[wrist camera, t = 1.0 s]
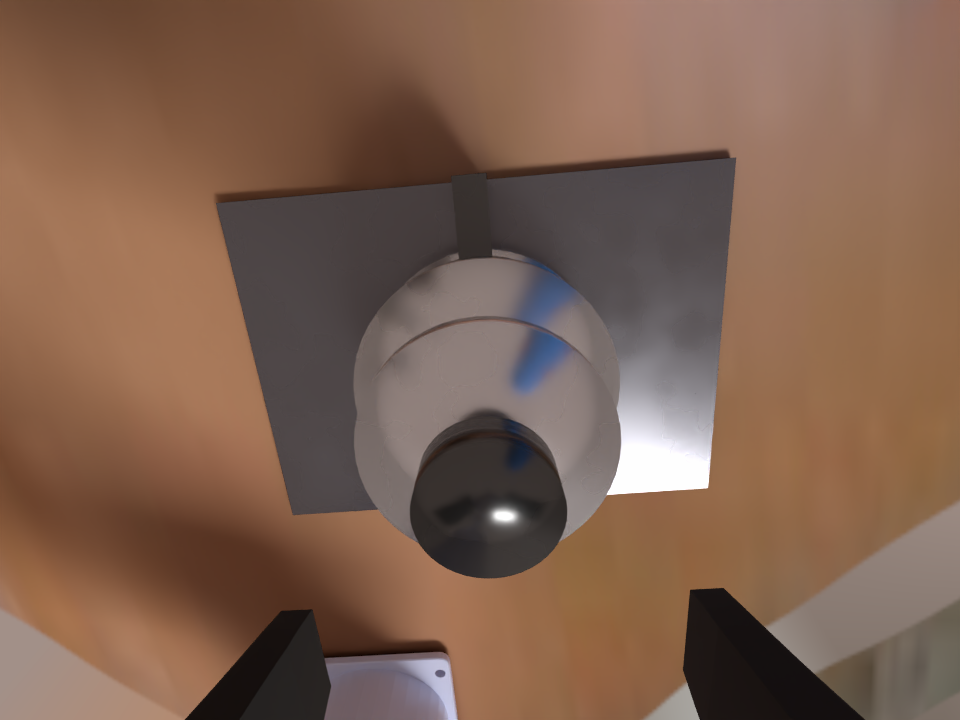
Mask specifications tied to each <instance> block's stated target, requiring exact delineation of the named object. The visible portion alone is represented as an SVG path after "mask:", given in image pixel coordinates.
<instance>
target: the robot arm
mask: <svg viewBox="0 0 960 720" xmlns="http://www.w3.org/2000/svg"><path fill="white" fill-rule="evenodd" d="M683 671H684V674H685V677H686V680H687V683H688V686H689V689H690V692H691V695H692V698H693V701H694V704H695V707H696V710H697V713H698V716H699V719H700V720H865V719H864V718H863V717H861V716H860V715H859V714H858V713H857V712H856V711H855V710H854V709H853V708H851V707H850V706H849V705H848V704H847V703H846V702H845V701H844V700H843V699H841V698H840V697H839V696H838V695H837V694H836V693H835V692H834V691H833V690H831V689H830V688H829V687H828V686H827V685H826V684H825V683H824V682H823V681H821V680H820V679H819V678H818V677H817V676H816V675H815V674H814V673H813V672H812V671H811V670H809V669H808V668H807V667H806V666H805V665H804V664H803V663H802V662H801V661H800V660H799V659H798V658H797V657H795V656H794V655H793V654H792V653H791V652H790V651H789V650H788V649H787V648H786V647H785V646H784V645H783V644H782V643H781V642H780V641H779V640H777V639H776V638H775V637H774V636H773V635H772V634H771V633H770V632H769V631H768V630H767V629H766V628H765V627H764V626H763V625H762V624H761V623H760V622H759V621H758V620H756V619H755V618H754V617H753V616H752V615H751V614H750V613H749V612H748V611H747V610H746V609H745V608H744V607H743V606H742V605H741V604H740V603H739V602H738V601H737V600H736V599H734V598H733V597H732V596H731V595H730V594H729V593H728V592H727V591H726V590H725V589H724V588H716V589H696V590H690V598H689V609H688V620H687V632H686V643H685V654H684V666H683ZM185 720H458V716H457V708H456V701H455V694H454V686H453V679H452V672H451V664H450V658H449V656H448V655H447V654H446V653H443V652H426V653H408V654H390V655H372V656H353V657H335V658H324V655H323V651H322V647H321V643H320V639H319V635H318V631H317V627H316V623H315V619H314V615H313V610H312V609H311V610H292V611H281V612H280V613H279V614H278V615H277V616H276V617H275V619H274V620H273V621H272V622H271V623H270V624H269V625H268V626H267V627H266V629H265V630H264V631H263V632H262V633H261V634H260V635H259V637H258V638H257V639H256V640H255V641H254V642H253V643H252V645H251V646H250V647H249V648H248V649H247V650H246V651H245V653H244V654H243V655H242V656H241V657H240V658H239V659H238V661H237V662H236V663H235V664H234V665H233V666H232V667H231V669H230V670H229V671H228V672H227V673H226V674H225V675H224V677H223V678H222V679H221V680H220V681H219V682H218V683H217V685H216V686H215V687H214V688H213V689H212V690H211V691H210V692H209V693H208V695H207V696H206V697H205V698H204V699H203V700H202V701H201V702H200V703H199V705H198V706H197V707H196V708H195V709H194V710H193V711H192V712H191V713H190V714H189V716H188V717H187V718H186V719H185Z"/></svg>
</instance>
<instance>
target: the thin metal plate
mask: <svg viewBox="0 0 960 720" xmlns="http://www.w3.org/2000/svg"><path fill="white" fill-rule="evenodd" d="M735 164H736V158H726V159H715V160H703V161H692V162H680V163H669V164H658V165H646V166H635V167H623V168H612V169H601V170H589V171H578V172H566V173H555V174H544V175H532V176H521V177H510V178H498V179H487V176H486V173H478V174H467V175H456V176H451V181H452V183H441V184H430V185H418V186H407V187H396V188H384V189H373V190H361V191H350V192H339V193H327V194H316V195H305V196H293V197H282V198H270V199H259V200H248V201H236V202H225V203H216V205H217V209H218V213H219V217H220V221H221V225H222V229H223V233H224V237H225V242H226V246H227V250H228V254H229V258H230V262H231V266H232V270H233V274H234V278H235V282H236V286H237V290H238V294H239V298H240V302H241V306H242V310H243V314H244V318H245V322H246V327H247V331H248V335H249V339H250V343H251V347H252V351H253V355H254V359H255V363H256V367H257V371H258V375H259V379H260V383H261V387H262V391H263V395H264V399H265V403H266V407H267V411H268V416H269V420H270V424H271V428H272V432H273V436H274V440H275V444H276V448H277V452H278V456H279V460H280V464H281V468H282V472H283V476H284V480H285V484H286V488H287V492H288V496H289V501H290V505H291V509H292V513H293V515H300V514H316V513H331V512H346V511H362V510H377V509H378V508H377V507H376V506H375V504H374V503H373V502H372V500H371V498H370V496H369V495H368V493H367V491H366V490H365V487H364V485H363V482H362V480H361V478H360V475H359V471H358V467H357V464H356V459H355V450H354V431H355V425H356V419H357V414H358V411H359V408H360V405H361V402H362V399H363V397H364V395H365V393H366V391H367V389H368V387H369V386H370V384H371V382H372V381H373V379H374V378H375V376H376V375H377V373H378V372H379V370H380V369H381V368H382V366H383V365H384V363H385V362H386V361H387V360H388V359H389V358H390V357H391V356H392V355H393V354H394V352H395V351H396V350H397V349H399V348H400V347H401V346H403V345H404V344H405V343H406V342H408V341H409V340H410V339H412V338H413V337H415V336H417V335H418V334H420V333H422V332H424V331H425V330H428V329H430V328H432V327H435V326H437V325H439V324H442V323H445V322H449V321H452V320H456V319H461V318H468V317H475V316H500V317H508V318H515V319H519V320H523V321H527V322H531V323H533V324H536V325H538V326H541V327H543V328H546V329H548V330H550V331H551V332H553V333H555V334H557V335H559V336H560V337H562V338H563V339H565V340H566V341H567V342H569V343H570V344H571V345H573V346H574V347H575V348H577V349H578V350H579V351H580V352H581V353H582V354H583V355H584V356H585V357H586V358H587V359H588V361H589V362H590V363H591V365H592V366H593V367H594V369H595V370H596V371H597V373H598V374H599V376H600V377H601V378H602V380H603V381H604V383H605V385H606V387H607V388H608V390H609V392H610V394H611V396H612V398H613V401H614V404H615V406H616V409H617V412H618V417H619V422H620V427H621V453H620V460H619V465H618V469H617V473H616V476H615V478H614V481H613V483H612V486H611V488H610V490H609V492H608V493H607V494H623V493H638V492H653V491H669V490H684V489H699V488H708V480H709V469H710V457H711V445H712V433H713V422H714V410H715V398H716V387H717V375H718V363H719V352H720V340H721V328H722V316H723V305H724V293H725V281H726V270H727V258H728V246H729V235H730V223H731V211H732V199H733V188H734V176H735Z"/></svg>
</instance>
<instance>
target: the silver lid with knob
mask: <svg viewBox="0 0 960 720" xmlns="http://www.w3.org/2000/svg"><path fill="white" fill-rule="evenodd" d="M354 450H355V459H356V464H357V467H358V471H359V475H360V478H361V480H362V482H363V485H364V487H365V490H366V491H367V493H368V495H369V496H370V498H371V500H372V502H373V503H374V504H375V506H376V507H377V508H378V510H379V511H380V512H381V513H382V515H383V516H384V517H385V518H386V519H387V520H388V521H389V522H390V523H391V524H392V525H393V526H394V527H396V528H397V529H398V530H400V531H401V532H402V533H403V534H405V535H406V536H408V537H409V538H411V539H413V540H414V541H416V542H418V543H419V544H420V545H421V547H422V548H423V549H424V551H425V552H426V553H427V554H428V555H429V556H430V557H431V558H432V559H434V560H435V561H436V562H438V563H439V564H440V565H442V566H444V567H445V568H447V569H449V570H452V571H454V572H456V573H459V574H462V575H466V576H470V577H476V578H501V577H507V576H511V575H515V574H518V573H521V572H523V571H525V570H528V569H530V568H532V567H533V566H535V565H537V564H538V563H540V562H541V561H542V560H543V559H545V558H546V557H547V556H548V555H549V554H550V553H551V552H552V551H553V549H554V548H555V547H556V545H557V544H558V542H559V541H561V540H563V539H564V538H566V537H567V536H569V535H571V534H572V533H573V532H574V531H576V530H577V529H578V528H579V527H581V526H582V525H583V524H584V523H585V522H586V521H587V520H588V519H589V518H590V517H591V516H592V515H593V514H594V513H595V511H596V510H597V509H598V507H599V506H600V505H601V503H602V502H603V500H604V499H605V497H606V495H607V493H608V492H609V490H610V488H611V486H612V483H613V481H614V478H615V476H616V473H617V469H618V465H619V460H620V453H621V427H620V422H619V417H618V412H617V409H616V406H615V404H614V401H613V398H612V396H611V394H610V392H609V390H608V388H607V387H606V385H605V383H604V381H603V380H602V378H601V377H600V376H599V374H598V373H597V371H596V370H595V369H594V367H593V366H592V365H591V363H590V362H589V361H588V359H587V358H586V357H585V356H584V355H583V354H582V353H581V352H580V351H579V350H578V349H577V348H575V347H574V346H573V345H571V344H570V343H569V342H567V341H566V340H565V339H563V338H562V337H560V336H559V335H557V334H555V333H553V332H551V331H550V330H548V329H546V328H543V327H541V326H538V325H536V324H533V323H531V322H527V321H523V320H519V319H515V318H508V317H500V316H475V317H468V318H461V319H456V320H452V321H449V322H445V323H442V324H439V325H437V326H435V327H432V328H430V329H428V330H425V331H424V332H422V333H420V334H418V335H417V336H415V337H413V338H412V339H410V340H409V341H408V342H406V343H405V344H404V345H403V346H401V347H400V348H399V349H397V350H396V351H395V352H394V354H393V355H392V356H391V357H390V358H389V359H388V360H387V361H386V362H385V363H384V365H383V366H382V368H381V369H380V370H379V372H378V373H377V375H376V376H375V378H374V379H373V381H372V382H371V384H370V386H369V387H368V389H367V391H366V393H365V395H364V397H363V399H362V402H361V405H360V408H359V411H358V414H357V419H356V425H355V431H354Z"/></svg>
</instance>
